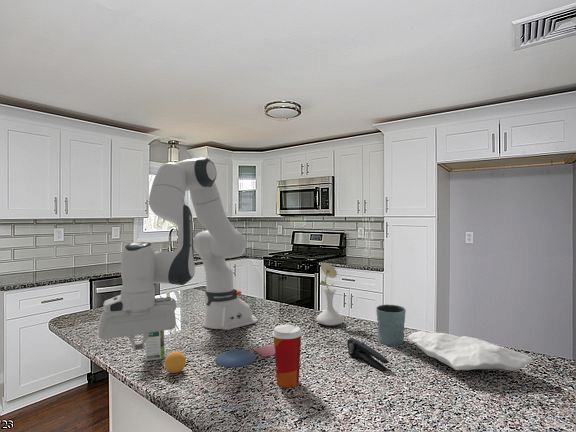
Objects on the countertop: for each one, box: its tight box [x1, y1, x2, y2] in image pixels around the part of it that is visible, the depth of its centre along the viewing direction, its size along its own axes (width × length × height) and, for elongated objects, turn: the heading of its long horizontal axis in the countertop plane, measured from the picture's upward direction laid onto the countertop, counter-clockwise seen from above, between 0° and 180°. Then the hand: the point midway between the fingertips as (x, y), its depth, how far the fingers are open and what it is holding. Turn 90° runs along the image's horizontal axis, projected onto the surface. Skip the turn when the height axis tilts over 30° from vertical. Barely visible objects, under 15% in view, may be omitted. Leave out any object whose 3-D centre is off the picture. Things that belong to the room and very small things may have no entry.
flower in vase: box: [315, 262, 345, 326], centre depth 155 cm, size 13×11×25 cm
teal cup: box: [375, 304, 406, 347], centre depth 133 cm, size 10×10×12 cm
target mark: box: [214, 349, 257, 368], centre depth 120 cm, size 13×13×1 cm
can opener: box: [347, 337, 390, 372], centre depth 116 cm, size 18×7×6 cm, turn 26°
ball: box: [164, 350, 187, 374], centre depth 110 cm, size 6×6×6 cm
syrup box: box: [144, 330, 166, 362], centre depth 122 cm, size 6×6×14 cm
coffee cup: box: [271, 324, 303, 389], centre depth 102 cm, size 8×8×15 cm
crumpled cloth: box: [406, 330, 533, 372], centre depth 112 cm, size 24×35×9 cm
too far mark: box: [253, 344, 275, 358], centre depth 126 cm, size 8×8×1 cm
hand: (138, 349), depth 105 cm, fingers closed
